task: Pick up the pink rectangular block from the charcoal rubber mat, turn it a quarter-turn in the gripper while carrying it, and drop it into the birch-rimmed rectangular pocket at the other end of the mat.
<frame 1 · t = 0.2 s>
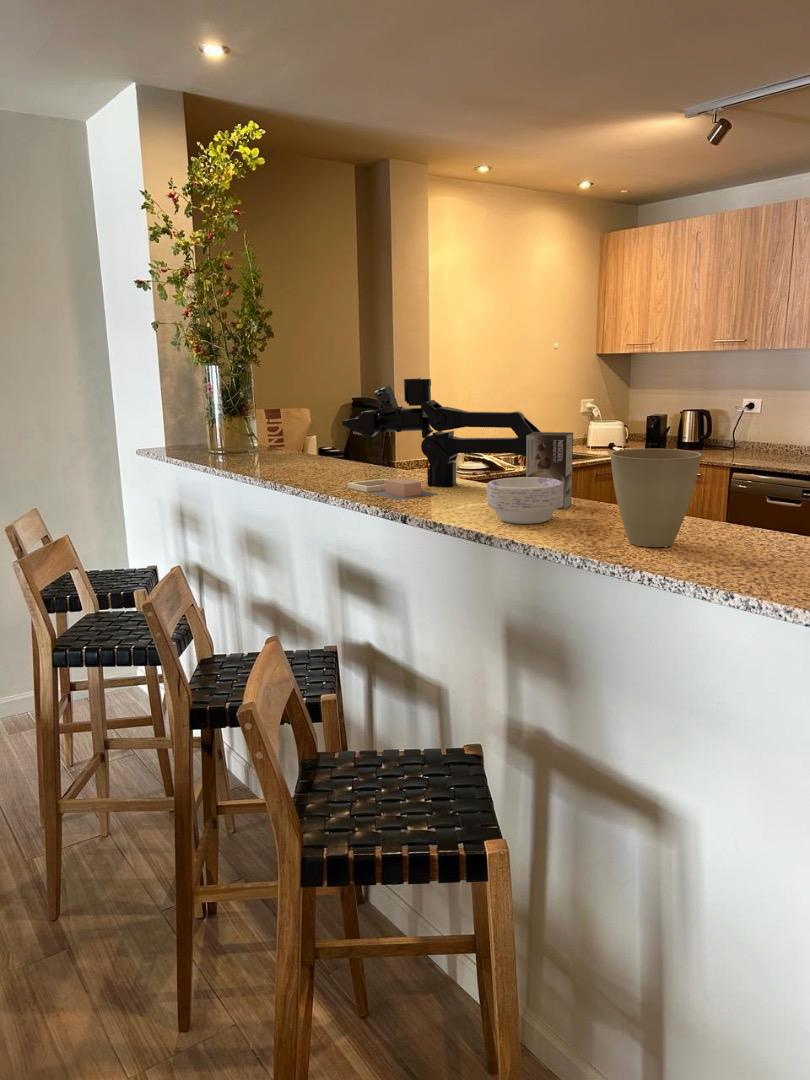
hand: (349, 421, 203), 16 cm above the counter, tool horizontal, fingers open, 9 cm apart
coffee box: (548, 506, 173), on the counter
pink rectangular block: (402, 493, 187), point 1 cm above the counter, touching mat
plant pot: (649, 544, 137), on the counter
paper bowls: (524, 521, 158), on the counter
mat: (389, 492, 192), on the counter
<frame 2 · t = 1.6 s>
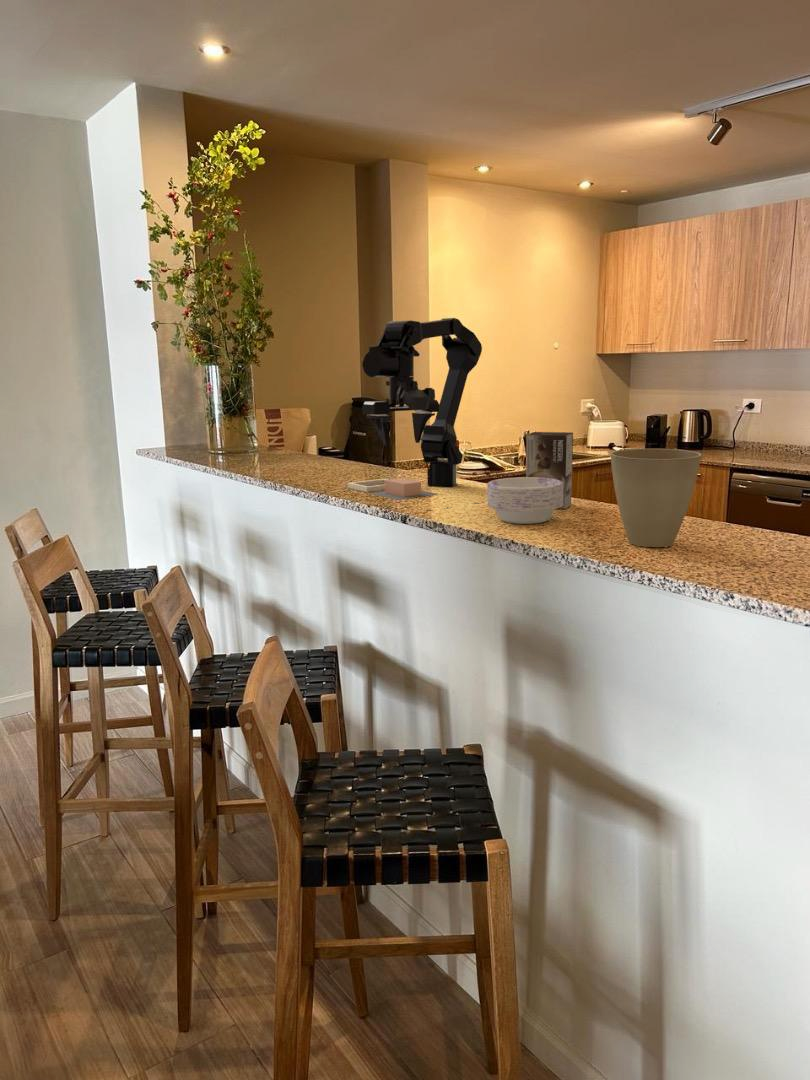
hand: (401, 443, 184), 12 cm above the counter, tool pointing down, fingers open, 9 cm apart
nothing on the counter moved.
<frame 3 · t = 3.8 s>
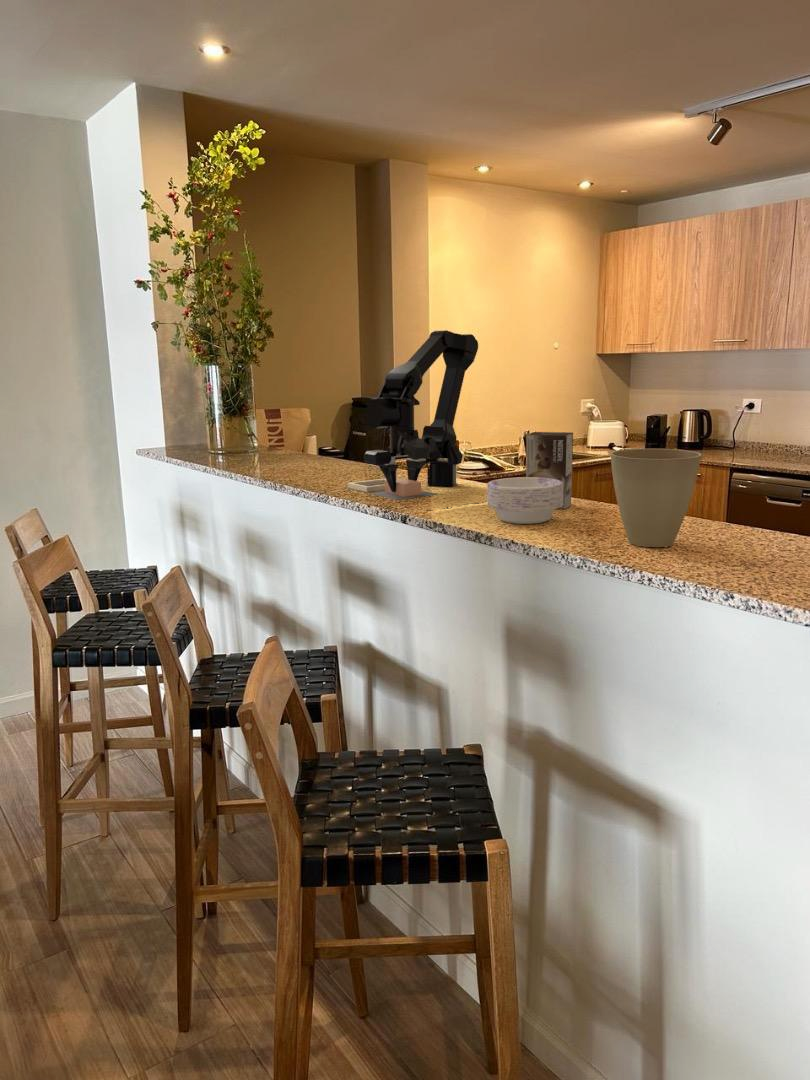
hand: (402, 490, 187), 1 cm above the counter, tool pointing down, fingers closed on pink rectangular block, 5 cm apart
pink rectangular block: (402, 493, 187), point 1 cm above the counter, touching gripper, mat
everything else where it was.
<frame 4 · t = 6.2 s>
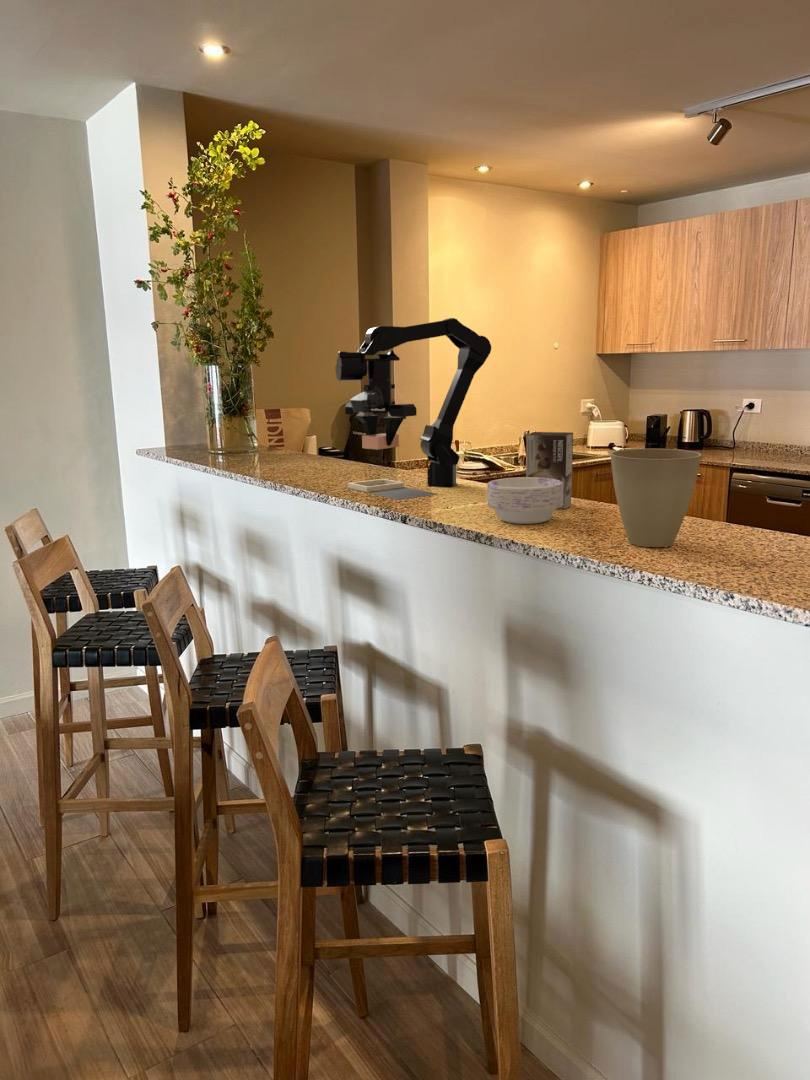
hand: (380, 444, 192), 12 cm above the counter, tool pointing down, fingers closed on pink rectangular block, 5 cm apart
pink rectangular block: (380, 447, 192), point 11 cm above the counter, touching gripper
everything else where it was.
when the fingers open (3 cm above the counter, at t = 9.0 s): pink rectangular block drops 1 cm, resting on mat.
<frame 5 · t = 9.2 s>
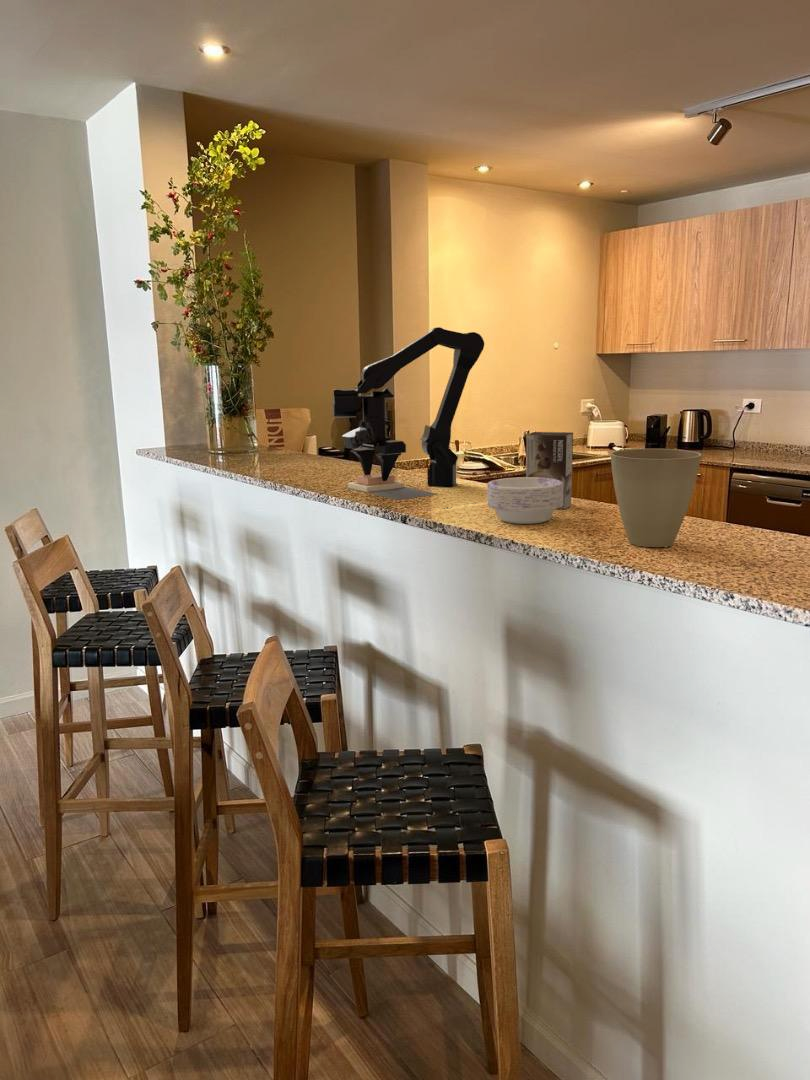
hand: (375, 479, 196), 3 cm above the counter, tool pointing down, fingers open, 7 cm apart
pink rectangular block: (376, 487, 196), point 1 cm above the counter, touching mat
everything else where it was.
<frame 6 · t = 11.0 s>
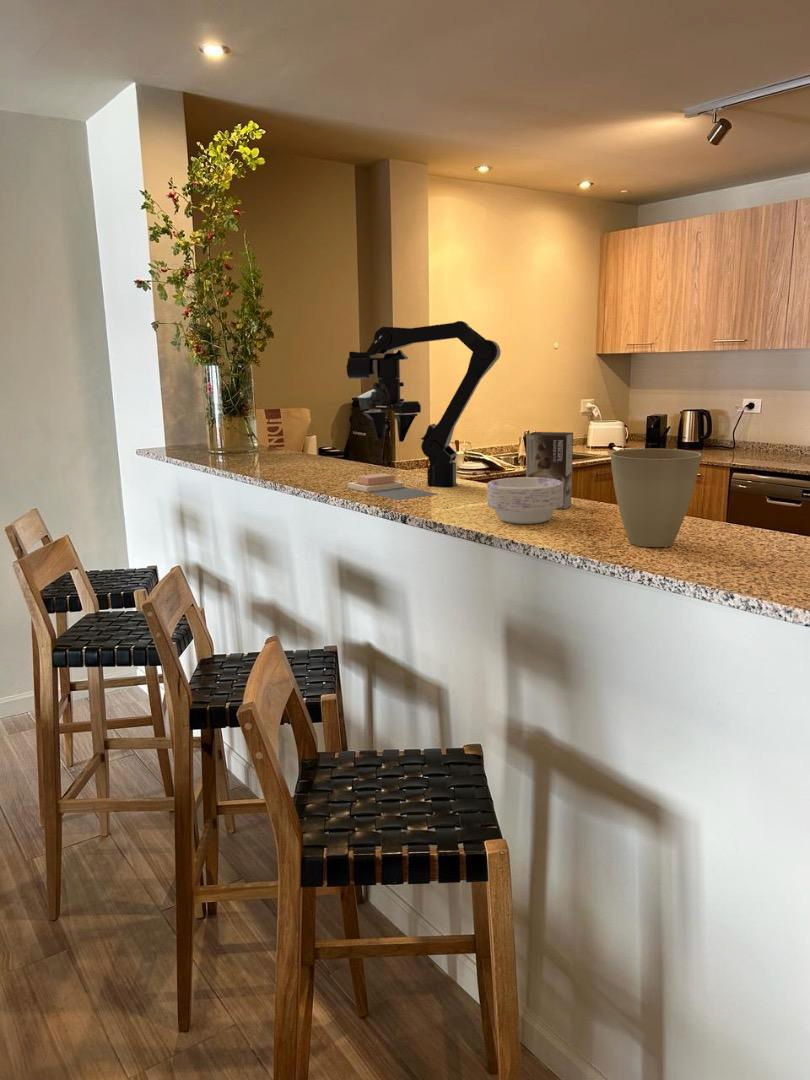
hand: (390, 440, 200), 12 cm above the counter, tool pointing down, fingers open, 9 cm apart
nothing on the counter moved.
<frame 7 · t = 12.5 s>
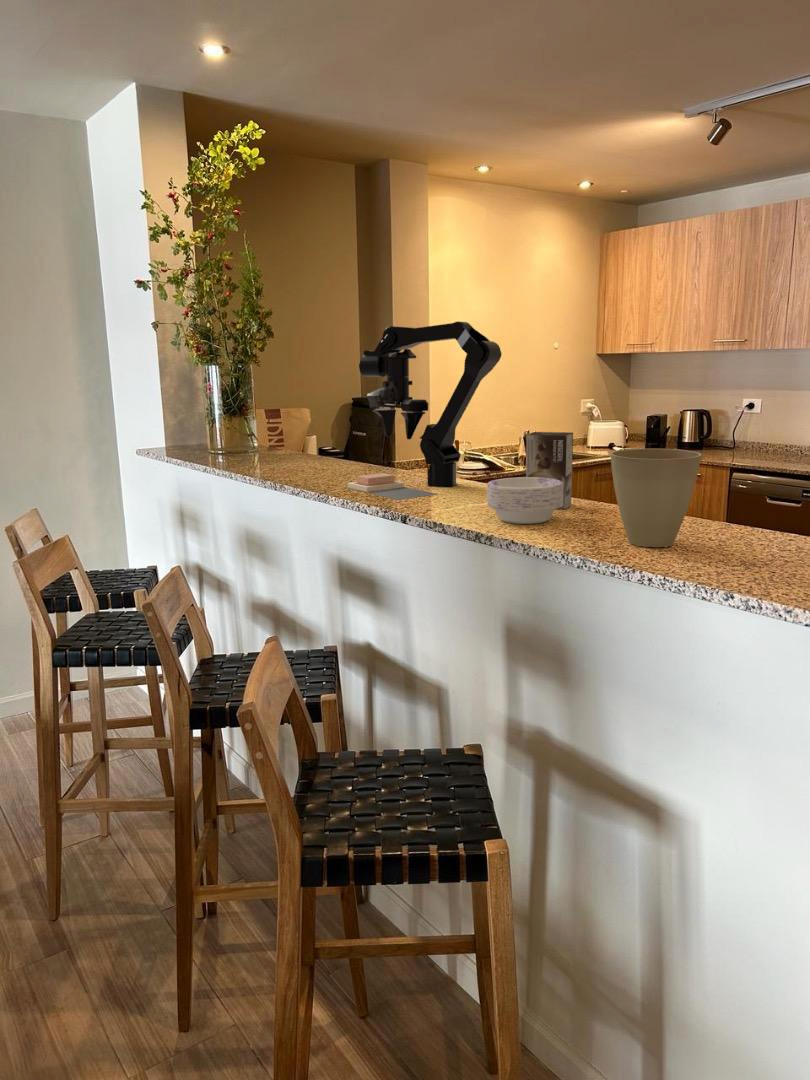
hand: (398, 437, 204), 12 cm above the counter, tool pointing down, fingers open, 9 cm apart
nothing on the counter moved.
at the end: pink rectangular block 0.1 cm from the target spot, point 0.6 cm above the counter; pink rectangular block tilted 0°; the gripper is holding nothing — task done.
